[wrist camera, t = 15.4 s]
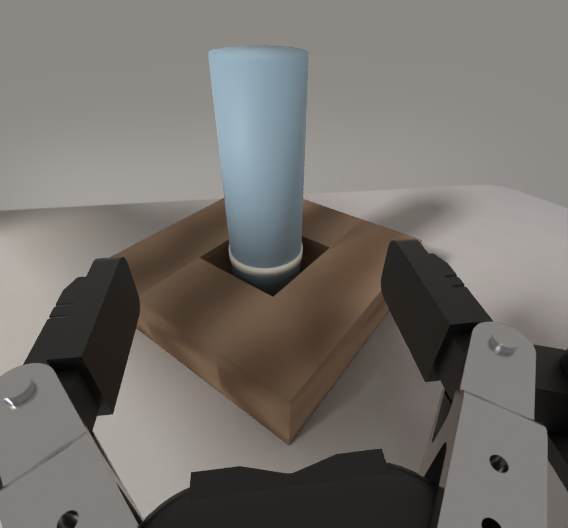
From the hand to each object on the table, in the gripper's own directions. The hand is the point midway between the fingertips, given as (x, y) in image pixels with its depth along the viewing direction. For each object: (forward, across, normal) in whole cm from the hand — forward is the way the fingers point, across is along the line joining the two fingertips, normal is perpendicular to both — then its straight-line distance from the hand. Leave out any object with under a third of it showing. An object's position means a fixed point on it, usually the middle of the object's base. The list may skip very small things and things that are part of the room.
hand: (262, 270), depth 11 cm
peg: (+11, -1, +12) cm, 16 cm away
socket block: (+11, -1, +12) cm, 16 cm away
